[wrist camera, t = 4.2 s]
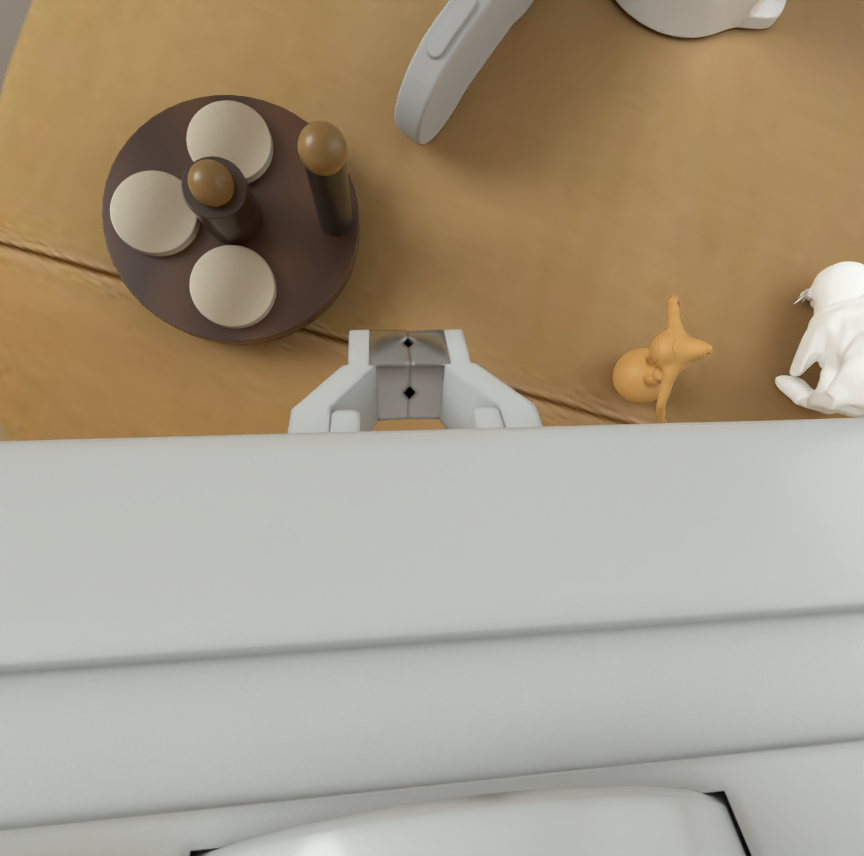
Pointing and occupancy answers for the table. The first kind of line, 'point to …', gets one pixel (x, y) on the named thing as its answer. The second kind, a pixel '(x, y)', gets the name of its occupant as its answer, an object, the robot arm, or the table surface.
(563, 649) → the robot arm
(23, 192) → the table surface
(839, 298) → the white seated statue
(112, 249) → the brown round base
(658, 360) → the figurine
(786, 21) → the table surface
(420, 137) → the game controller
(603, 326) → the table surface
